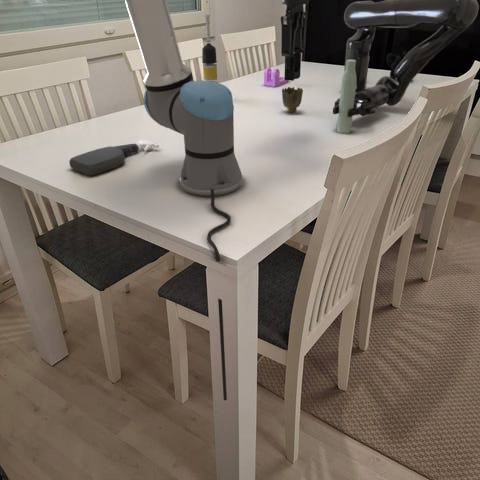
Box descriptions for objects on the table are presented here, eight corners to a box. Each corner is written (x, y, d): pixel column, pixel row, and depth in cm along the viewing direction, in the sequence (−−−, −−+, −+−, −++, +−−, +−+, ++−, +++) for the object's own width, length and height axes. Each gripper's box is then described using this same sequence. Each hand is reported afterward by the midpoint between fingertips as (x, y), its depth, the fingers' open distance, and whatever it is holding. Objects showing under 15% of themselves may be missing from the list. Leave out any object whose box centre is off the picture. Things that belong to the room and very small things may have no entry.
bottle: (335, 132, 142) (341, 61, 130) (338, 128, 145) (346, 58, 134) (348, 134, 140) (356, 62, 129) (352, 129, 143) (360, 59, 132)
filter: (220, 99, 177) (217, 15, 161) (206, 100, 176) (202, 16, 160) (215, 96, 182) (212, 14, 166) (202, 97, 180) (197, 14, 164)
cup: (277, 113, 160) (278, 90, 155) (285, 108, 165) (286, 85, 161) (297, 115, 157) (298, 92, 152) (304, 110, 162) (306, 87, 158)
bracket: (274, 86, 193) (275, 69, 190) (264, 85, 196) (264, 68, 193) (290, 81, 202) (291, 64, 198) (279, 79, 205) (280, 63, 201)
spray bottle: (67, 168, 120) (139, 144, 136) (91, 178, 114) (163, 151, 130) (65, 157, 118) (137, 134, 134) (89, 167, 112) (162, 142, 128)
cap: (297, 79, 129) (298, 72, 128) (283, 79, 130) (284, 72, 129) (300, 76, 132) (300, 69, 131) (287, 76, 133) (287, 69, 132)
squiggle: (400, 92, 202) (376, 71, 205) (417, 76, 202) (392, 56, 205) (405, 81, 191) (380, 59, 194) (423, 64, 191) (397, 42, 194)
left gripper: (296, -11, 111) (292, 86, 123) (320, -15, 123) (314, 73, 136) (269, -11, 114) (268, 83, 126) (295, -15, 126) (292, 71, 139)
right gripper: (349, 86, 150) (322, 96, 139) (389, 92, 142) (364, 103, 131) (346, 108, 154) (320, 120, 143) (385, 115, 146) (360, 128, 135)
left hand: (292, 78), depth 131 cm, fingers closed on cap, 4 cm apart
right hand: (341, 112), depth 137 cm, fingers closed on bottle, 4 cm apart
